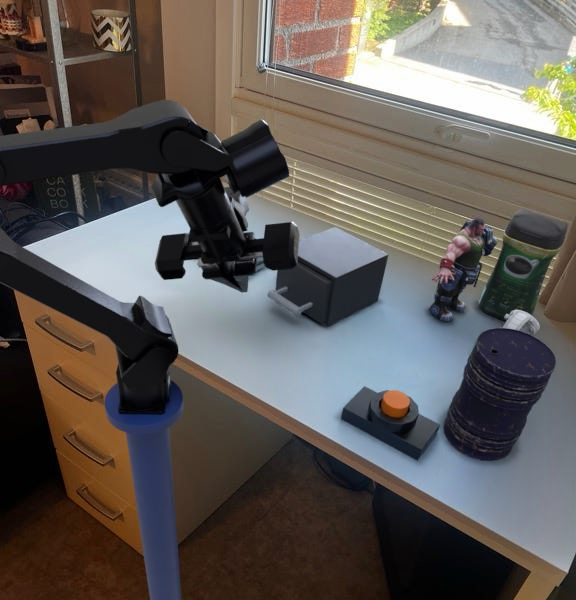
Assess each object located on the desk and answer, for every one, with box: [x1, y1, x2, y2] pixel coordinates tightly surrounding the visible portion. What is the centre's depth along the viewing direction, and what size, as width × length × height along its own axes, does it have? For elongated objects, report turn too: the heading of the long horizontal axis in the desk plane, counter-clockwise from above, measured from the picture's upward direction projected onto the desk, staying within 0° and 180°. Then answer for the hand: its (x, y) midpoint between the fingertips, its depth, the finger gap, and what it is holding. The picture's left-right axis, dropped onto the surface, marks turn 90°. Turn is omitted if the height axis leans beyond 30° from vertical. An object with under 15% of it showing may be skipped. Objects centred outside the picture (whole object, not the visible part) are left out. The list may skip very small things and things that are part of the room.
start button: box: [381, 389, 410, 418], centre depth 74 cm, size 4×4×2 cm
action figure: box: [428, 217, 498, 323], centre depth 96 cm, size 20×7×18 cm, turn 139°
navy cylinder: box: [442, 327, 557, 462], centre depth 73 cm, size 10×10×15 cm
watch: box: [502, 310, 541, 336], centre depth 85 cm, size 6×8×11 cm
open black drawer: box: [267, 260, 332, 324], centre depth 96 cm, size 17×11×8 cm
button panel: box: [340, 386, 441, 461], centre depth 76 cm, size 12×6×4 cm, turn 55°
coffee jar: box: [478, 208, 569, 322], centre depth 97 cm, size 10×8×19 cm
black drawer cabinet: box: [298, 226, 389, 328], centre depth 98 cm, size 14×13×10 cm
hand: (245, 289), depth 80 cm, fingers closed
